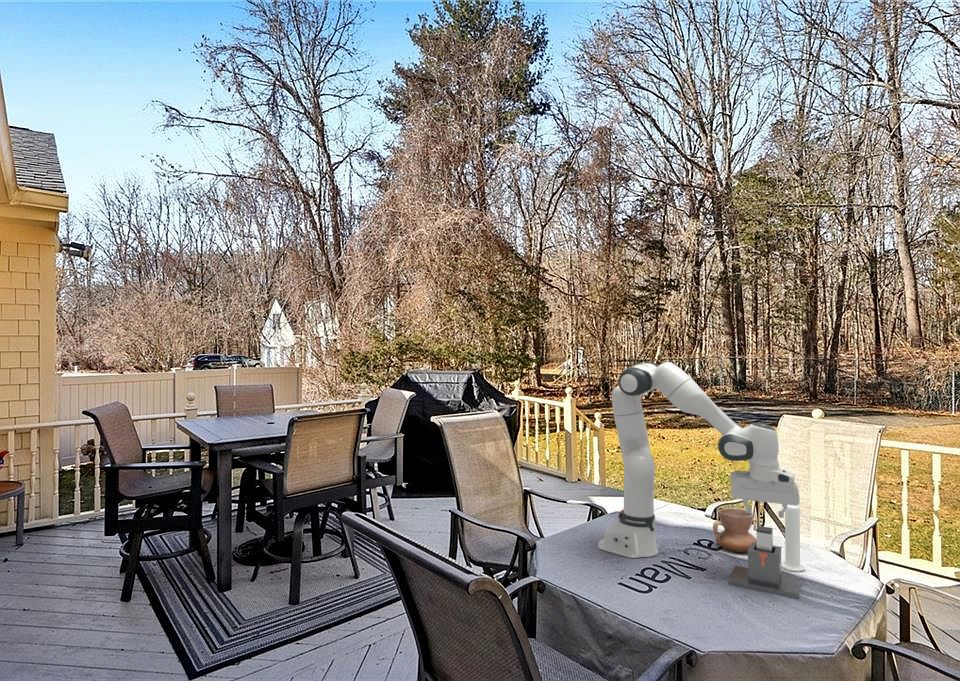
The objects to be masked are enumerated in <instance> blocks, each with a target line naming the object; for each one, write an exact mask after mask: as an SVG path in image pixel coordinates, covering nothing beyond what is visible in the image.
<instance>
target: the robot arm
mask: <svg viewBox="0 0 960 681" xmlns="http://www.w3.org/2000/svg"><path fill="white" fill-rule="evenodd" d="M617 382H618V385H617V386H615V387H614V388H613V390H612V391H611V403H612V412H613V418H614V422H615V427H616V428H615V429H616V431H617V432H616V434H617V437H618V441H619V442H618V443H619V447H620V452H621V459H622V463H623V508H622V509H621V510H620V512H619V513H618V515H617V519H618V521H617V522H615V523H613V524H612V525H610V526H609V527H607V529H606V530H605V532H604V535H603V538H602V539H600V540H599V542H598V543H597V548H598V549H599V550H602V551H605V552H609V553H611V554H615V555H619V556H622V557H626V558H630V559H638V558H648V557H650V558H651V557H654V556H656V555H658V554H659V553H660V552H659V549H658V545H657V540H656V532H655V530H656V516H655V513H654V512H655V511H654V510H655V509H654V507H655V505H654V503H655V502H654V501H655V500H654V497H655V496H654V491H655V472H656V471H655V470H656V469H655V468H656V467H655V466H656V465H655V462H654V459H653V456H652V452H651V447H650V442H649V441H650V440H649V435H648V429H647V425H646V424H647V423H646V420H645V419H646V418H645V415H644V410H643V405H642V397H643V395H645V394H647V393H649V392H651V391H655V390H658V391H659V392H661V394H663V395H664V397H666V399H667V400H668V401H669V402H670V403H671V404H672V405H673V406H674V407H676V408H677V409H679V410H680V411H681V412H682V413H686V414H692V415H695V416H698V417H700V418H702V419H704V420H705V421H707V422H708V423H709V424H710V425H711V426H712V427H713V428H714V429H715V430H716V431H717V432H719V433H720V434H721V435H722V436H721V437H720V438H719V440H718V442H717V449H718V451H719V454H720V455H721V456H722V457H723V458H724V459H726V460H727V461H731V462H739V461H741V462H742V461H748V466H749V468H748V470H749V471H745V470H744V471H743V470H734V471H732V472H730V474H729V480H730V482H731V490H730V496H731V498H733V499H736V500H742V504H743V505H744V507H745V510H747V513H750V514H752V513H753V508H752V506H749V504H748V502H749V501H753V502H761V503H762V502H763V503H768V504H769V503H771V504H778V505H779V504H780V505H781V507H782V509H781V510H778V518H781V519H782V518H783V519H785V510H786V509H787V506H788V505H795V506H799V504H800V503H801V502H800V501H801V499H800V491H799V490H800V489H799V487H798V484H797V482H796V481H795V478H796V477H795V476H796V475H795V474H794V472H792V471H789V470H787V469H784V468H781V467H780V463H779V460H778V455H779V452H780V450H779V449H780V448H779V437H778V436H779V435H778V432H777V430H776V429H775V428H774V427H773V426H772V425H769V424H767V423H762V422H752V423H750V425H747V426H745V427H744V426H742V425H741V424H739V423H737V422H736V421H734V420H733V419H732V418H731V417H730V416H729V415H727V413H726V412H725V411H724V410H723V409H721V408H720V407H719V406H718V405H717V404H716V403H715V402H714V401H713V400H712V399H711V398H710V397H709V396H708V395H707V394H706V392H705V391H703V389H702V388H701V387H700V386H699V385H698V384H697V382H696V381H695V380H694V379H693V378H692V377H691V376H690V375H688V373H686V372H685V371H684V370H683V369H681V367H679V366H677V365H676V364H674V363H673V362H670V361H667V362H662V363H661V364H660V365H658V364H657V363H654V362H647V361H646V362H643V363H642V362H641V363H637V364H635V365H632V366H631V367H627V368H625V369H624V370H623V371H622V372H621V373H620V374H619V376H618V381H617Z"/></svg>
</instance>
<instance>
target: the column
mask: <svg viewBox="0 0 960 681" xmlns="http://www.w3.org/2000/svg"><path fill="white" fill-rule="evenodd" d="M773 529H774V528H773V527H768V526H762V525H757V528H756V533H755V534H756V540H757V550H758V551H764V552H770V553H773V546H774V540H773V539H774V531H773Z"/></svg>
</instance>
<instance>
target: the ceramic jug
mask: <svg viewBox="0 0 960 681" xmlns="http://www.w3.org/2000/svg"><path fill="white" fill-rule="evenodd" d="M718 516H719V520H716V521H714V522H713V524H712V530H713V531H712V532H713V534H714V535H715V538H716V543H717V544H718V545H719V547H721V548H723V549H725V550H728V551H730V552H733V553H734V552H736V553H748V549H749V547H750V544H751V542H755V543H757V537H755V536H754V535H753V534H752V533H750V532H749V531H750V528H751V526H752V524H753V522H754V523H758V519H757V518H756V517H754V513H753V512H752V514H750V513H747V509H746V508H738V507H736V508H735V507H728V508H721V509H718ZM719 526H722V527H723V529H724V530H722V531H721V532H719V531H718V530H719V529H718V528H719Z"/></svg>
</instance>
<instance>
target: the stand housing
mask: <svg viewBox="0 0 960 681" xmlns="http://www.w3.org/2000/svg"><path fill="white" fill-rule="evenodd" d="M781 564H782V546H778V545H777V546H776V545H773V553H770V552H764V551H758V550H757V543H755V542H751V544H750V547H749V549H748V552H747V567H746V566H745V567H744V566H739V565H734V567H733V570H732V572H731V573H730V576H729V578H728V585H730V586H733V587H738V586H739V588H743V589H745V588H746V589H748V590H753V589H754V591H759V592H763V593H769V594H773V595H778V596H782V597H783V596H784V597H787V598H793V599H799V598H800V590H801V584H802V577H799V576H793V575H788V574H782V567H781Z"/></svg>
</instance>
